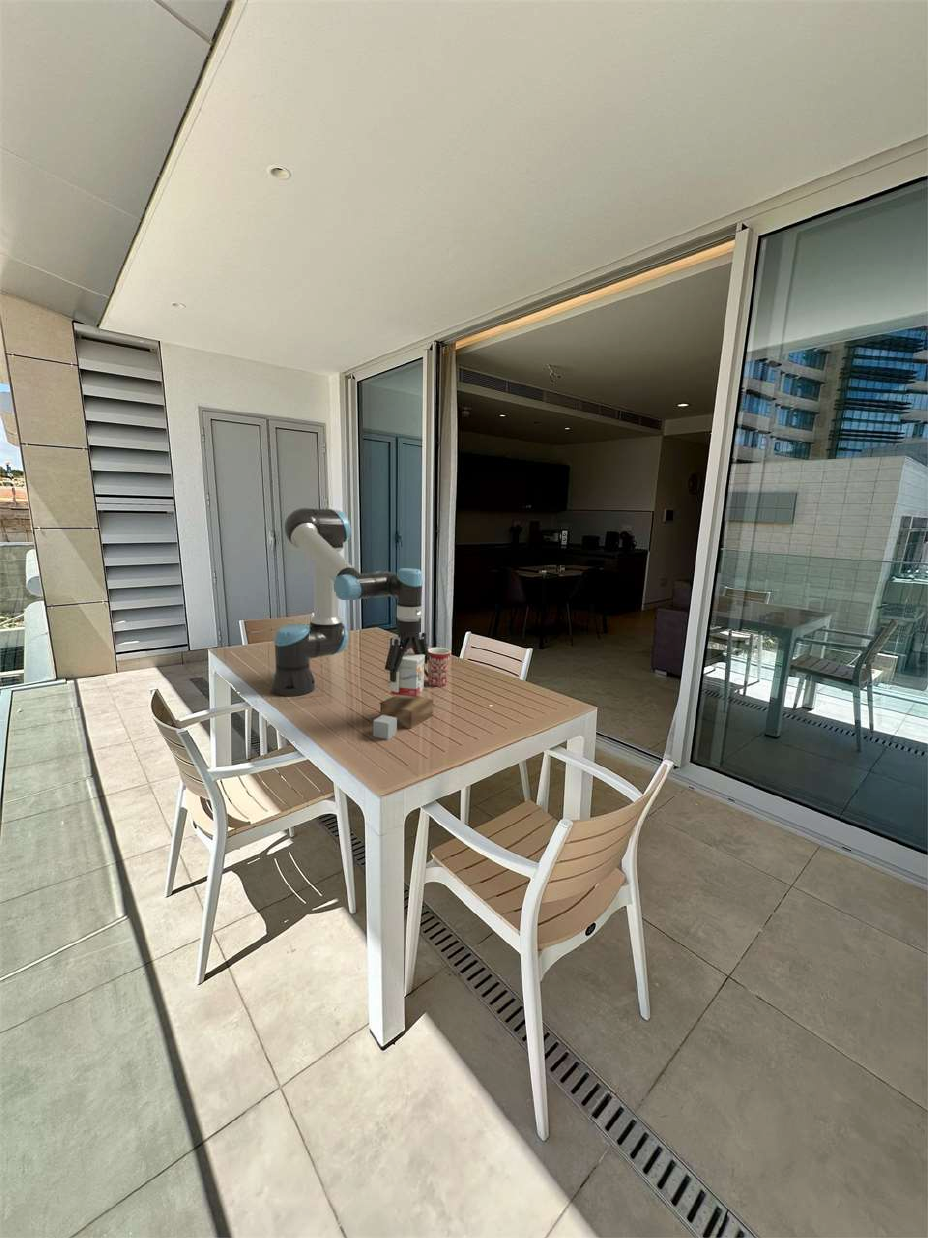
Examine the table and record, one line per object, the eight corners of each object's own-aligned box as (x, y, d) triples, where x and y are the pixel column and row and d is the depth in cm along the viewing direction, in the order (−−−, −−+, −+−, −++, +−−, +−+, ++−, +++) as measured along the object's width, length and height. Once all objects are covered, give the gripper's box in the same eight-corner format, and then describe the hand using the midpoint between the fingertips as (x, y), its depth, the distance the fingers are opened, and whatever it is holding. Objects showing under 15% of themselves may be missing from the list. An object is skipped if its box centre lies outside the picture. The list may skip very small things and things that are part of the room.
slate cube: (373, 736, 146) (373, 720, 145) (382, 730, 151) (382, 714, 150) (388, 740, 145) (388, 723, 144) (396, 733, 149) (396, 717, 148)
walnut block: (380, 720, 158) (380, 702, 157) (402, 708, 169) (403, 692, 168) (411, 729, 153) (411, 711, 152) (432, 717, 163) (433, 699, 162)
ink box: (416, 697, 154) (417, 660, 152) (390, 694, 156) (390, 657, 153) (424, 688, 162) (425, 653, 160) (399, 685, 164) (400, 650, 162)
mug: (452, 682, 197) (454, 649, 195) (444, 689, 189) (445, 654, 186) (423, 677, 202) (424, 645, 199) (413, 684, 193) (414, 650, 190)
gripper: (390, 626, 143) (389, 699, 147) (442, 615, 161) (440, 681, 166) (372, 622, 147) (372, 693, 152) (424, 612, 166) (423, 676, 170)
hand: (407, 686), depth 159 cm, fingers closed on ink box, 11 cm apart
